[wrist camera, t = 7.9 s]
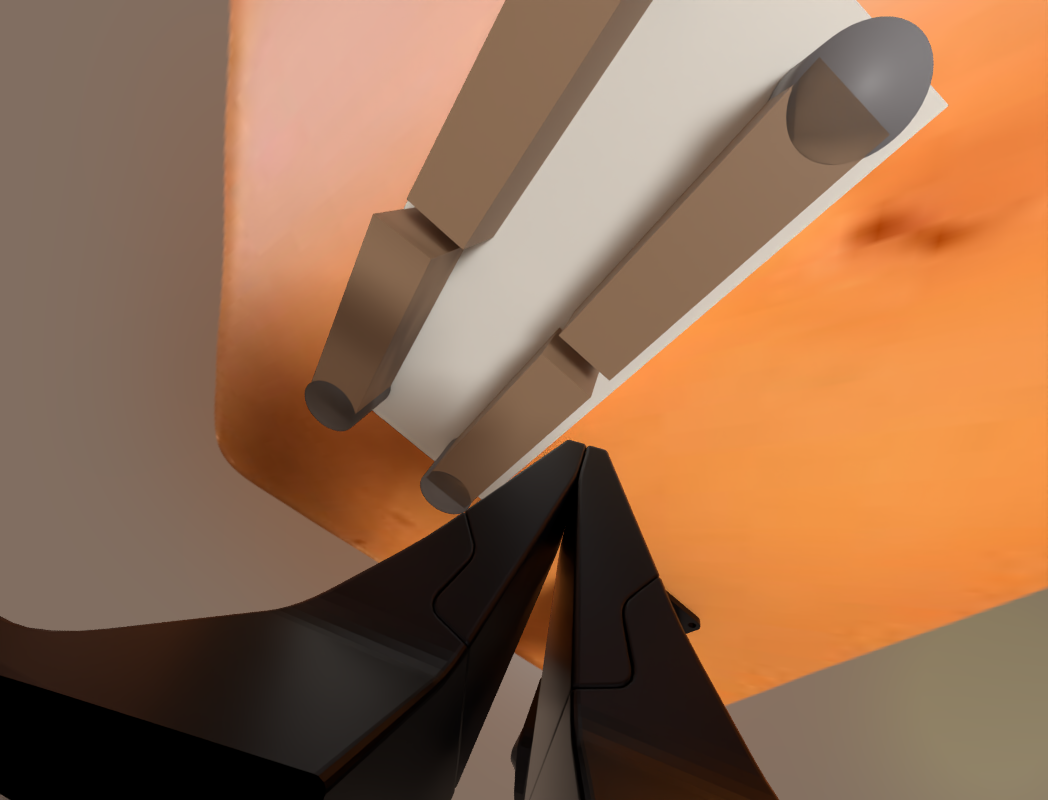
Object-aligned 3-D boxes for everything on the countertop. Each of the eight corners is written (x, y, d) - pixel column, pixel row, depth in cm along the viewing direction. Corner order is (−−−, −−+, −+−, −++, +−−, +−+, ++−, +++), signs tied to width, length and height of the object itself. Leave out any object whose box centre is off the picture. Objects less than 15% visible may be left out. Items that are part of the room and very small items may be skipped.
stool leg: (380, 411, 23) (345, 440, 20) (339, 380, 23) (299, 407, 20) (468, 247, 17) (434, 261, 14) (414, 204, 17) (369, 211, 14)
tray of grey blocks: (911, 113, 13) (1029, 88, 9) (495, 480, 26) (463, 539, 22) (638, -192, 12) (622, -393, 7) (346, 356, 25) (281, 394, 21)
